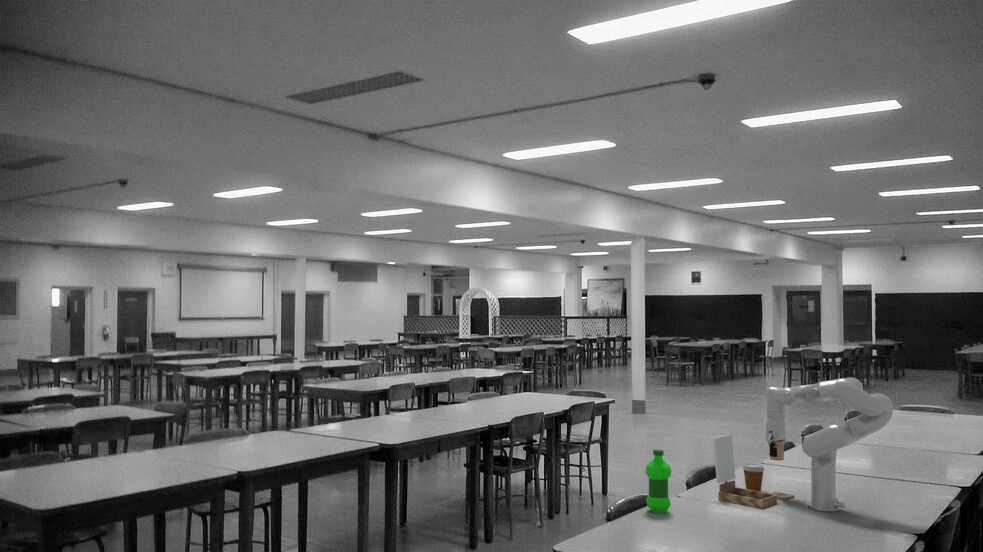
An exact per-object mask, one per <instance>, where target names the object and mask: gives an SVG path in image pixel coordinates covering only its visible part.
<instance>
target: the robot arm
mask: <svg viewBox="0 0 983 552" xmlns="http://www.w3.org/2000/svg"><path fill="white" fill-rule="evenodd" d="M765 392H766V393H765V396H766V398H765V399H766V401H765V402H766V423H765V440H766V442H767V444H768V448H769V457H770V456H771V457H777V448H776V442H777V441H780V440H781V441H785V442H786V438H787V437H786V435H787V434H786V423H785V419H786V409H785V408H786V407H785V406H786V405H787V406H793V405H794V406H795V405H800V404H804V403H805V404H806V403H812V402H813V403H814V402H833V401H842V402H843V403H844V404H846V405H848V407H849V406H850V407H851V408H853V409H854V410H856V411H857V412H858V413H860V414H859V415H857V416H855V417H853V418H850V419H848V420H847V421H844V422H843V421H842V422H839V423H834V424H830V425H828V426H826V427H824V428H822V429H820V430H817V431H816V432H814V433H811V434H809V435H807V436H806V437H804V439H803V440H802V444H801V449H802V451H803V453H804V454H805V455H806V456H808V457H809V458H811V460H810V462H811V463H810V480H811V481H810V483H811V484H810V485H811V490H810V491H811V492H810V493H811V500H810V501H809V502H807V507H808V508H809V509H811V510H814V511H818V512H819V511H820V512H831V513H833V512H838V511H840V510H841V509H846V507H847V504H846V503H845V502H843V501H839V497H837V481H836V480H837V478H836V477H837V476H836V475H837V474H836V473H837V472H836V471H837V470H836V469H837V468H836V467H837V466H836V465H837V453H838V450H840V449H842V448H845V447H847V446H848V447H849V446H851V445H852V444H853V443H856V442H858V441H860V440H862V439H864V438H867V437H868V436H870V435H872V434H874V433H876V432H878V431H879V430H881V429H883V428H884V427H885V426H886V425H887V424H888V423H889V422H890V421H891V418H892V417H893V416H892V415H893V412H894V408H893V407H894V405H893V403H892V400H891V398H890V397H889V396H887V395H886V394H883V393H871V394H870V393H869V392H867V391H865V390H864V387H863V383H862V382H861V381H860V380H859V379H857V378H856V377H844V378H836V379H832V380H831V379H830V380H823V381H818V382H817V383H812V384H806V385H805V384H804V385H797V386H791V387H782V386H768V387H766V388H765ZM773 442H774V443H773Z"/></svg>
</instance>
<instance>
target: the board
mask: <svg viewBox="0 0 983 552" xmlns="http://www.w3.org/2000/svg"><path fill="white" fill-rule="evenodd" d="M769 494H774V495H777V501H784V502H785V501H790V500H791V499H793V500H795V499H794V498H795V495H794V494H789V493H784V492H781V491H773V492H769Z"/></svg>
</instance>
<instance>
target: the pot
mask: <svg viewBox="0 0 983 552" xmlns="http://www.w3.org/2000/svg"><path fill="white" fill-rule="evenodd" d="M785 442H786V440H785V441H781V440H780V441H777V442H776V448H777V457H771V456H770V455H769V459H770V461H771V460H772V461H779V462H780V461H784V460H785V445H786V444H785ZM773 443H774V442H773Z"/></svg>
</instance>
